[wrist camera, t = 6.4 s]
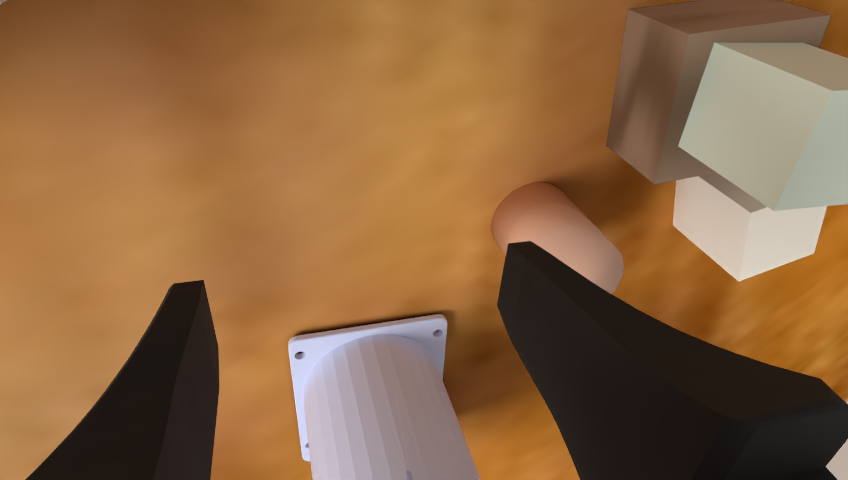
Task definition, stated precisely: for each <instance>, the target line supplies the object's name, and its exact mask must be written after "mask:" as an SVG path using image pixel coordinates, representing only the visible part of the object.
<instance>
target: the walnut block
mask: <svg viewBox="0 0 848 480" xmlns="http://www.w3.org/2000/svg"><path fill="white" fill-rule="evenodd" d="M830 17H831V15H829V14H826V13H822V12H819V11H815V10H812V9H808V8H804V7H801V6H797V5H794V4H790V3H787V2H783V1H779V0H700V1H692V2H684V3H675V4H667V5H659V6H651V7H643V8H634V9H628V12H627V19H626V25H625V31H624V38H623V44H622V50H621V56H620V63H619V69H618V75H617V82H616V88H615V94H614V100H613V107H612V113H611V119H610V126H609V132H608V138H607V144H606V146H607V147H609V148H610V149H611V150H612V151H614V152H615V153H616V154H617V155H619V156H620V157H621V158H622V159H624V160H625V161H626V162H627V163H629V164H630V165H631V166H632V167H634V168H635V169H636V170H637V171H638V172H640V173H641V174H642V175H643V176H645V177H646V178H647V179H648V180H650V181H651V182H652V183H653V184H660V183H665V182H671V181H676V180H681V179H686V178H691V177H697V176H702V175H707V174H712V173H717V172H715V171H714V170H712V169H711V168H709V167H708V166H706V165H705V164H704V163H702V162H701V161H699V160H698V159H696V158H695V157H693V156H692V155H690V154H689V153H687V152H686V151H684V150H683V149H681V148H680V147H678V145H679V142H680V139H681V136H682V133H683V131H684V128H685V125H686V122H687V119H688V116H689V113H690V111H691V108H692V105H693V102H694V99H695V96H696V94H697V91H698V88H699V85H700V82H701V79H702V76H703V74H704V71H705V68H706V65H707V62H708V59H709V57H710V54H711V51H712V48H713V45H714V43H806V44H809V45H811V46H814V47H817V48H819V47H820V44H821V42H822V39H823V36H824V33H825V31H826V28H827V25H828V22H829V20H830Z"/></svg>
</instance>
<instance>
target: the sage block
mask: <svg viewBox="0 0 848 480" xmlns="http://www.w3.org/2000/svg"><path fill="white" fill-rule="evenodd" d="M678 147H680V148H681V149H683V150H684V151H686V152H687V153H689V154H690V155H692V156H693V157H695V158H696V159H698V160H699V161H701V162H702V163H704V164H705V165H706V166H708V167H709V168H711V169H712V170H714V171H715V172H717V173H718V174H720V175H721V176H723V177H724V178H726V179H727V180H729V181H730V182H732V183H733V184H735V185H736V186H737V187H739V188H740V189H742V190H743V191H745V192H746V193H748V194H749V195H751V196H752V197H754V198H755V199H757V200H758V201H760V202H761V203H763V204H764V205H765V206H767V207H768V208H770V209H771V210H773V211H780V210H790V209H801V208H811V207H822V206H832V205H843V204H848V58H846V57H843V56H840V55H838V54H835V53H832V52H829V51H826V50H823V49H820V48H817V47H814V46H811V45H809V44H806V43H714V45H713V48H712V51H711V54H710V57H709V59H708V62H707V65H706V68H705V71H704V74H703V76H702V79H701V82H700V85H699V88H698V91H697V94H696V96H695V99H694V102H693V105H692V108H691V111H690V113H689V116H688V119H687V122H686V125H685V128H684V131H683V133H682V136H681V139H680V142H679V145H678Z"/></svg>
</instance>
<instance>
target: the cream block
mask: <svg viewBox="0 0 848 480" xmlns="http://www.w3.org/2000/svg"><path fill="white" fill-rule="evenodd" d="M826 208H827V206H822V207H811V208H801V209H790V210H780V211H773V210H771V209H770V208H768V207H767V206H765V205H764V204H763V203H761V202H760V201H758V200H757V199H755V198H754V197H752V196H751V195H749V194H748V193H746V192H745V191H743V190H742V189H740V188H739V187H737V186H736V185H735V184H733V183H732V182H730V181H729V180H727V179H726V178H724V177H723V176H721V175H720V174H718V173H712V174H707V175H702V176H697V177H691V178H686V179H681V180H676V191H675V204H674V217H673V226H674V227H675V228H677V229H678V230H679V231H680V232H681V233H682V234H684V235H685V236H686V237H687V238H688V239H689V240H691V241H692V242H693V243H694V244H695V245H696V246H698V247H699V248H700V249H701V250H702V251H703V252H705V253H706V254H707V255H708V256H709V257H710V258H712V259H713V260H714V261H715V262H716V263H717V264H719V265H720V266H721V267H722V268H723V269H724V270H726V271H727V272H728V273H729V274H730V275H731V276H733V277H734V278H735V279H736V280H737V281H738V282H739V281H741V280H744V279H747V278H749V277H752V276H755V275H757V274H760V273H763V272H765V271H768V270H771V269H774V268H776V267H779V266H782V265H784V264H787V263H790V262H792V261H795V260H798V259H800V258H803V257H806V256H808V255H811V254H814V251H815V248H816V244H817V241H818V237H819V233H820V230H821V226H822V223H823V219H824V216H825V212H826Z"/></svg>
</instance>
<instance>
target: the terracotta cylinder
mask: <svg viewBox="0 0 848 480" xmlns="http://www.w3.org/2000/svg"><path fill="white" fill-rule="evenodd" d="M491 230H492V236H493V238H494V240H495V242H496V243H497V245H498V246H499V248H500V249H501V251H502V252H503V254H504V255H505V257H506V252H507V247H508V243H516V242H525V241H532V242H533V243H535V244H536V245H538V246H540V247H541V248H543V249H544V250H546V251H547V252H549V253H550V254H552V255H553V256H555V257H556V258H557V259H559V260H560V261H562V262H563V263H565V264H566V265H568V266H569V267H571V268H572V269H574V270H575V271H577V272H578V273H579V274H581V275H582V276H584V277H585V278H587V279H588V280H590V281H591V282H593V283H595V284H596V285H598V286H599V287H601V288H602V289H604V290H606V291H607V292H609V293H610V294H612V293H613V292H614V291H615V290H616V288H617V286H618V285H619V283H620V281H621V278H622V276H623V271H624V261H623V257H622V255H621V253H620V252H619V250H618V249H617V248H616V247H615V246H614V245H613V244H612V243H611V242H610V241H609V240H608V239H607V238H606V237H605V236H604V235H603V233H602V232H601V231H600V230H599V229H598V228H597V227H596V226H595V225H594V224H593V223H592V222H591V221H590V220H589V219H588V218H587V217H586V216H585V215H584V214H583V213H582V212H581V210H580V209H579V208H578V207H577V206H576V205H575V204H574V203H573V202H572V201H571V200H570V199H569V198H568V197H567V196H566V195H565V194H564V193H563V192H562V191H561V190H560V189H559V188H558V187H556V186H554V185H552V184H549V183H542V182H541V183H531V184H528V185H525V186H522V187H520V188H518V189H516V190H515V191H513V192H512V193H510V194H509V195H508V196H507V197H506V198H505V199H504V200H503V201H502V202H501V203H500V205H499V206H498V208H497V209H496V211H495V213H494V216H493V219H492V225H491Z"/></svg>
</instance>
